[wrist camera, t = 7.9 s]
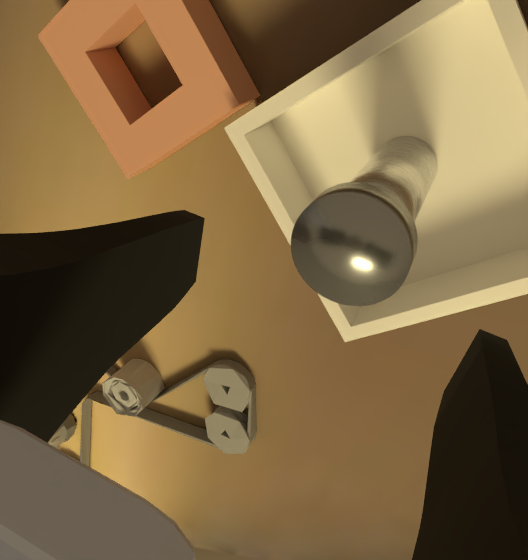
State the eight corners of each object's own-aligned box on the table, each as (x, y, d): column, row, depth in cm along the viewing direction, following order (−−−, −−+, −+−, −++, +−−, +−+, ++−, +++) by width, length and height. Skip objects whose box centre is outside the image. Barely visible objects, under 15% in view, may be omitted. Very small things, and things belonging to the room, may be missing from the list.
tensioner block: (70, 32, 23) (37, 35, 22) (170, -73, 19) (139, -78, 18) (152, 166, 25) (127, 178, 23) (260, 95, 21) (238, 104, 19)
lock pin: (350, 148, 20) (270, 222, 14) (427, 108, 18) (375, 172, 12) (385, 218, 21) (325, 319, 14) (463, 186, 19) (433, 286, 13)
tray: (257, 112, 21) (224, 127, 19) (500, -44, 16) (496, -49, 13) (363, 306, 24) (344, 342, 21) (608, 232, 18) (620, 269, 16)
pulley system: (-33, 360, 44) (70, 493, 46) (-85, 391, 40) (29, 535, 42) (156, 209, 29) (300, 417, 31) (100, 236, 25) (268, 473, 27)
